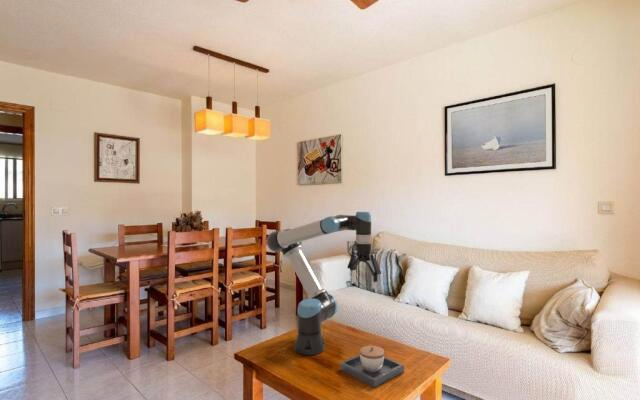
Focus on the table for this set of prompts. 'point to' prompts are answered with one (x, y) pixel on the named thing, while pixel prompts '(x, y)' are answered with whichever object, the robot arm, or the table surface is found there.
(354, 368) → the tray
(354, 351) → the table surface
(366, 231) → the robot arm
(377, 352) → the lidded jar
